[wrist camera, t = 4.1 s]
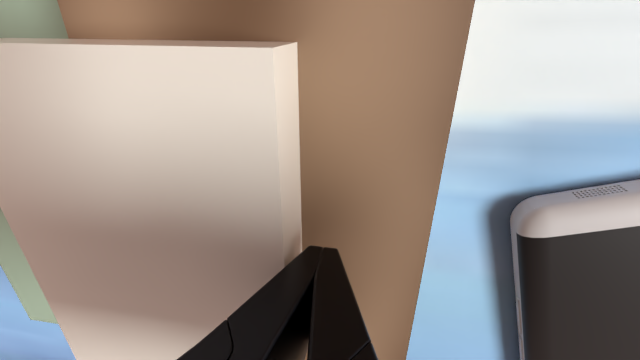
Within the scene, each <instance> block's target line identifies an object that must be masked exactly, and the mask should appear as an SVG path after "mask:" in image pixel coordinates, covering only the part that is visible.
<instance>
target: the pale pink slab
mask: <svg viewBox="0 0 640 360" xmlns="http://www.w3.org/2000/svg"><path fill="white" fill-rule="evenodd" d="M0 208H1V210H2V212H3V214H4V216H5V218H6V220H7V222H8V224H9V226H10V228H11V230H12V232H13V234H14V236H15V238H16V240H17V242H18V244H19V246H20V248H21V250H22V252H23V254H24V256H25V258H26V260H27V262H28V264H29V266H30V268H31V270H32V272H33V274H34V276H35V278H36V280H37V282H38V284H39V286H40V288H41V290H42V292H43V294H44V296H45V298H46V300H47V302H48V304H49V306H50V308H51V310H52V312H53V314H54V316H55V318H56V320H57V322H58V324H59V326H60V328H61V330H62V332H63V334H64V336H65V338H66V340H67V342H68V344H69V346H70V348H71V350H72V352H73V354H74V356H75V358H76V360H176V359H178V358H179V357H180V356H182V355H183V354H184V353H186V352H187V351H188V350H190V349H191V348H192V347H194V346H195V345H196V344H197V343H198V342H200V341H201V340H202V339H203V338H204V337H206V336H207V335H208V334H209V333H210V332H212V331H213V330H214V329H215V328H216V327H217V326H218V325H220V324H221V323H222V322H223V321H224V320H227V318H228V317H229V316H230V315H231V314H232V313H233V312H234V311H236V310H237V309H238V308H239V307H240V306H241V305H242V304H244V303H245V302H246V301H247V300H248V299H249V298H250V297H251V296H253V295H254V294H255V293H256V292H257V291H258V290H259V289H260V288H262V287H263V286H264V285H265V284H266V283H267V282H268V281H270V280H271V279H272V278H273V277H274V276H275V275H276V274H277V273H279V272H280V271H281V270H282V269H283V268H284V267H285V266H286V265H288V264H289V263H290V262H291V261H292V260H293V259H294V258H295V257H297V256H298V255H299V254H300V253H301V252H302V223H301V181H300V139H299V97H298V55H297V42H260V41H193V40H125V39H58V38H0Z"/></svg>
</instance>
